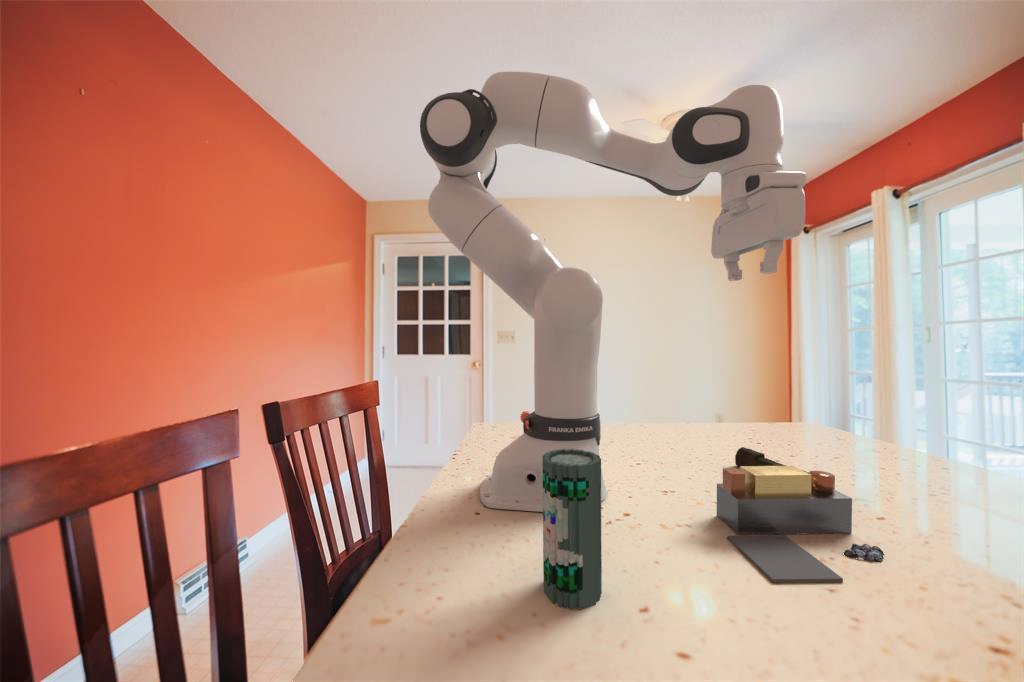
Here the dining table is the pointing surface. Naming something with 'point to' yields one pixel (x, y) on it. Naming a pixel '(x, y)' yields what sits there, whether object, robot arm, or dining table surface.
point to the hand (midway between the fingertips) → (750, 277)
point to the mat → (783, 559)
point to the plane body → (783, 507)
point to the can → (572, 528)
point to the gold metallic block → (776, 481)
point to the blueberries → (865, 553)
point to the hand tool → (753, 459)
